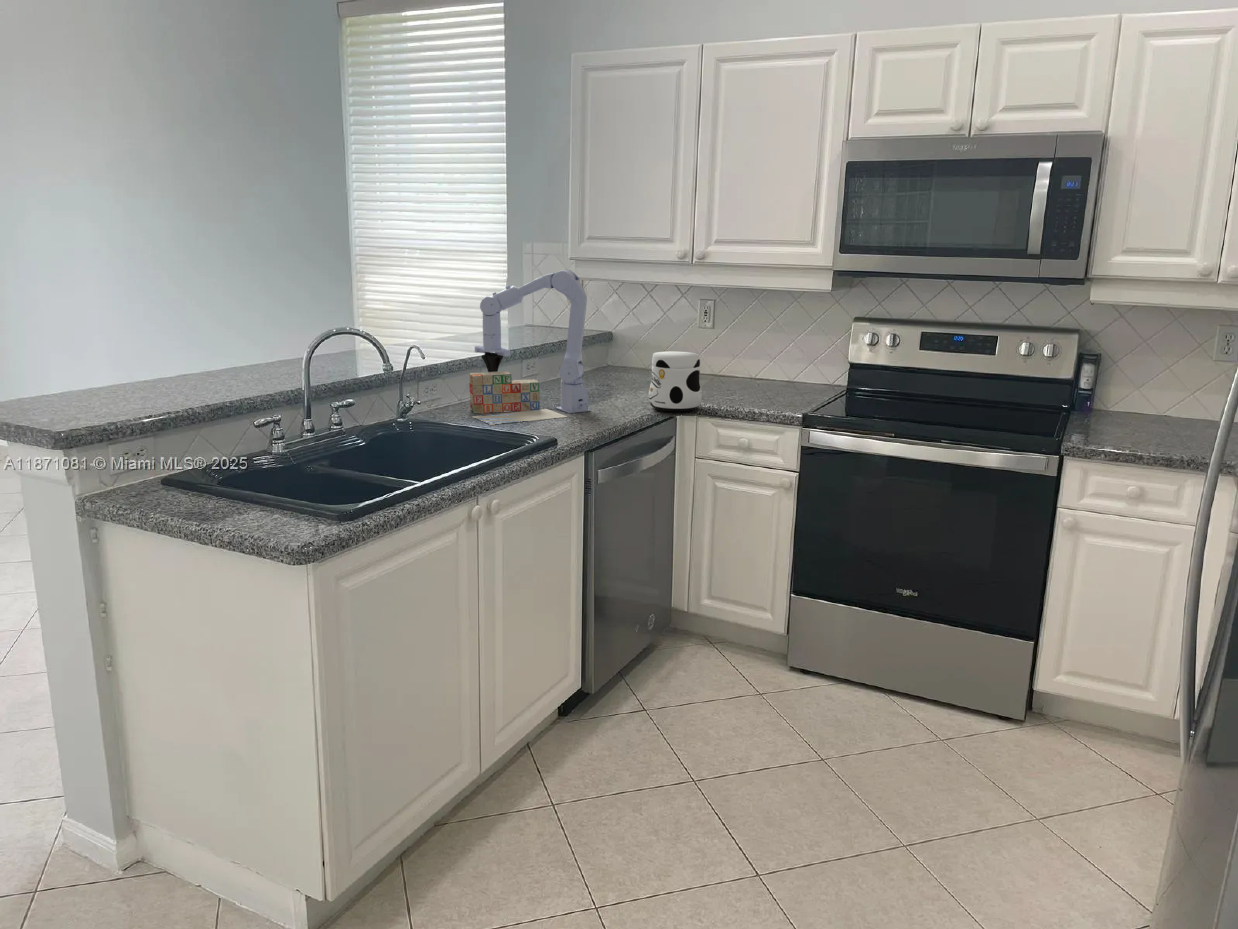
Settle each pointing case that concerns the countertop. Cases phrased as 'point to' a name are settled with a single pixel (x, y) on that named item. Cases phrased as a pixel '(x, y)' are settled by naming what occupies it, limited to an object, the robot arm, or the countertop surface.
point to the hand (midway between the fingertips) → (492, 376)
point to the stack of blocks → (502, 393)
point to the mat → (526, 416)
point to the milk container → (675, 381)
